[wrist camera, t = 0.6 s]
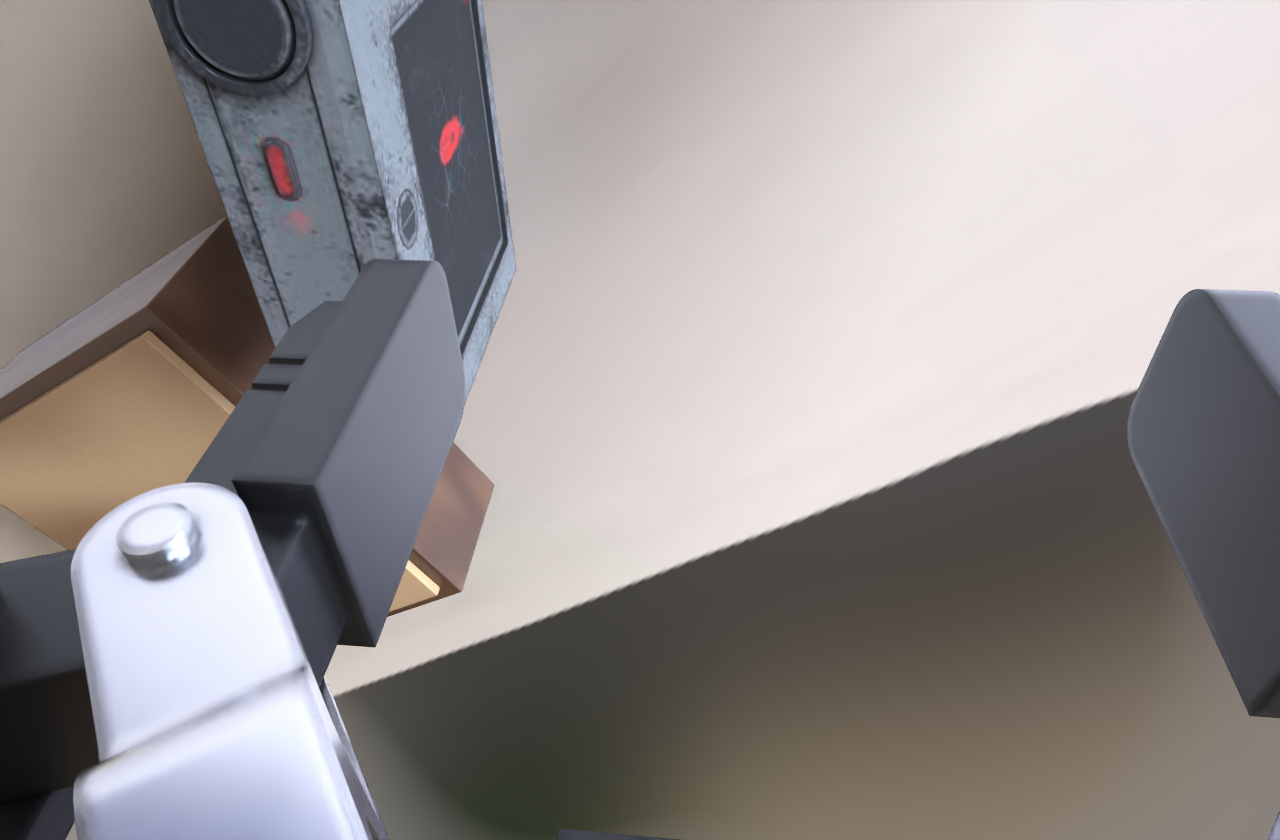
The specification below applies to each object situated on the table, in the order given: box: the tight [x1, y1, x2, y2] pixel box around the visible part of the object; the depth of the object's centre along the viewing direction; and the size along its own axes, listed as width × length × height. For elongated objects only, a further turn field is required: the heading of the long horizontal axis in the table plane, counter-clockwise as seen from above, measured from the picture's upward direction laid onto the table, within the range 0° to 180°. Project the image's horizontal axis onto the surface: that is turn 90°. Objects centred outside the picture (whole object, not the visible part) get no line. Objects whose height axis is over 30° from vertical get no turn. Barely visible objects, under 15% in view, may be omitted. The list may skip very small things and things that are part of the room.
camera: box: [149, 0, 516, 405], centre depth 22 cm, size 16×4×10 cm, turn 1°
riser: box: [0, 215, 494, 617], centre depth 35 cm, size 15×13×6 cm
